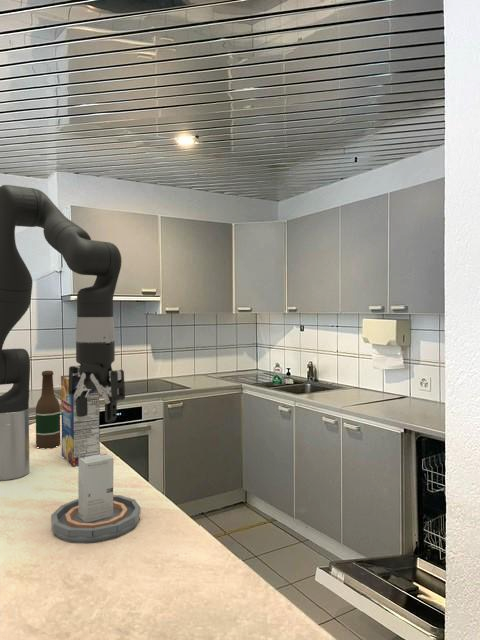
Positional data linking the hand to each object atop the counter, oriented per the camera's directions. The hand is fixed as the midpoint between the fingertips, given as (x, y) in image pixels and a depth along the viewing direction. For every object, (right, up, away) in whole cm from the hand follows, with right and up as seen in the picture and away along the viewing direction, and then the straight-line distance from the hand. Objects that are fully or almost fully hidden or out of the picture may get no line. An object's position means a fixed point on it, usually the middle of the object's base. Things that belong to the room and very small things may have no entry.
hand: (96, 418), depth 98 cm
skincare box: (0, -20, +1) cm, 20 cm away
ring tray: (0, -21, 0) cm, 21 cm away
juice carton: (-17, -21, +42) cm, 50 cm away
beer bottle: (-32, -20, +56) cm, 68 cm away
